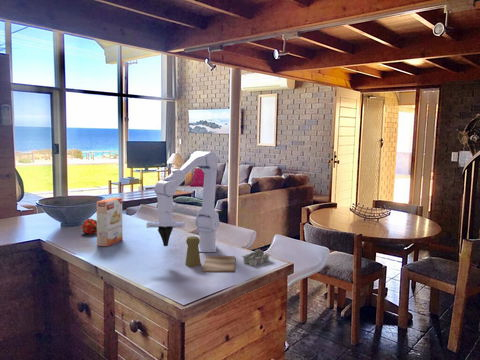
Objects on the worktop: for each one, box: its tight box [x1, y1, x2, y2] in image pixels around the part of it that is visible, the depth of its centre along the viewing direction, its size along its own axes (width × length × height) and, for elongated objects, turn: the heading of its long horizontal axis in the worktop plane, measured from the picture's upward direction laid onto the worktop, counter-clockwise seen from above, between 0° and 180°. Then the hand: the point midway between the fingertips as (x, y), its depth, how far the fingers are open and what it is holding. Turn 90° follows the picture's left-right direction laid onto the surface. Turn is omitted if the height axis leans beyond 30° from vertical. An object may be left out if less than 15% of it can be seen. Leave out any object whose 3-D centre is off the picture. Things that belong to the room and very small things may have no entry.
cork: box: [184, 235, 202, 268], centre depth 152 cm, size 6×6×11 cm
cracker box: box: [95, 197, 123, 247], centre depth 183 cm, size 14×6×21 cm, turn 168°
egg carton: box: [241, 248, 271, 266], centre depth 157 cm, size 11×8×4 cm
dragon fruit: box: [81, 218, 97, 236], centre depth 201 cm, size 8×8×12 cm
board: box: [201, 255, 236, 273], centre depth 153 cm, size 18×12×1 cm, turn 0°
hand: (165, 245), depth 152 cm, fingers closed
